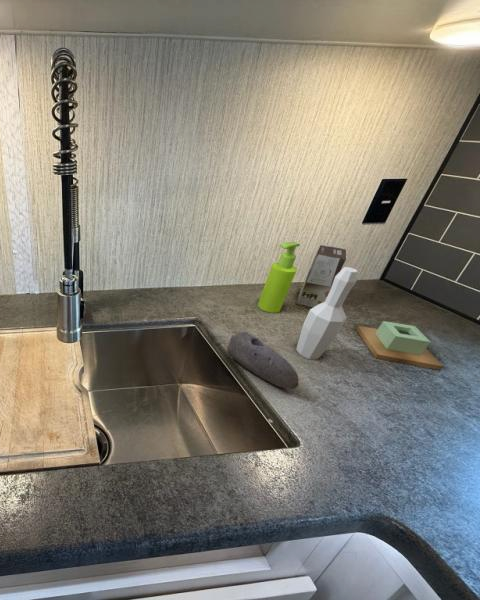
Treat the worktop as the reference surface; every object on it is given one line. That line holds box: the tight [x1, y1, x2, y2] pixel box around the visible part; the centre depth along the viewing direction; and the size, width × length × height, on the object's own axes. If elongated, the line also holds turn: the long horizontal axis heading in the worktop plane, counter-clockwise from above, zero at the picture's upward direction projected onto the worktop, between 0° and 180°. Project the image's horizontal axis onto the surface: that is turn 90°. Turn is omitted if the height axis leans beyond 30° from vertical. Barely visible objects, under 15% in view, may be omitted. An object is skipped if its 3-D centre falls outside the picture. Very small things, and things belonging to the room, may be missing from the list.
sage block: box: [375, 320, 431, 355], centre depth 74 cm, size 6×6×4 cm
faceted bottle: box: [295, 266, 359, 360], centre depth 68 cm, size 6×6×22 cm
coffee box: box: [296, 244, 347, 309], centre depth 90 cm, size 9×6×16 cm
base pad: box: [355, 325, 444, 371], centre depth 75 cm, size 12×12×4 cm
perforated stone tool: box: [226, 331, 300, 390], centre depth 66 cm, size 15×5×7 cm, turn 30°
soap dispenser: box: [257, 241, 301, 314], centre depth 86 cm, size 6×7×20 cm
